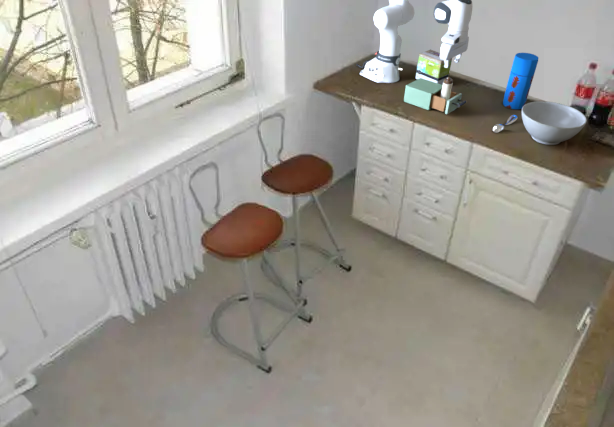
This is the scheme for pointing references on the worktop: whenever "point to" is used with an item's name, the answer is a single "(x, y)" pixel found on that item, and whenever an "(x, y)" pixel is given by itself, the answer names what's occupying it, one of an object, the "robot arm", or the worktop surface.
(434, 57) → the tea box
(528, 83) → the thermos
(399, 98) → the worktop surface
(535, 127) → the decorative bowl
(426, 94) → the cabinet
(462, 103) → the drawer
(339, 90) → the worktop surface
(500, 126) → the silver spoon
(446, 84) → the canister with knobbed lid
